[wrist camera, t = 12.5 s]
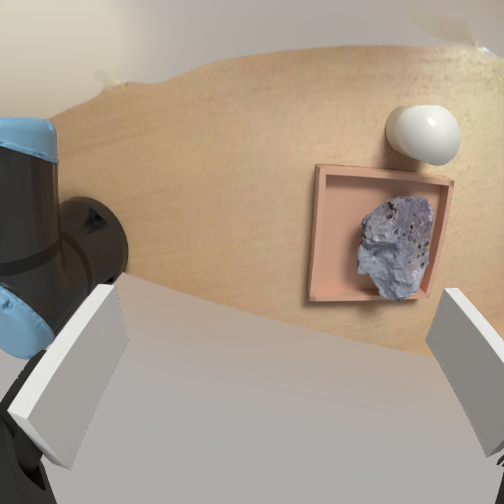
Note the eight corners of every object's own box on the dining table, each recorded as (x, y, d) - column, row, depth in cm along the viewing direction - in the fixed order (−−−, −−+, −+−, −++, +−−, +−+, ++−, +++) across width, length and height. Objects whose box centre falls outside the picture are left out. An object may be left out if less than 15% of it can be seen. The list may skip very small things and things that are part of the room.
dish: (306, 290, 46) (309, 301, 43) (315, 163, 38) (320, 167, 35) (421, 288, 45) (428, 298, 42) (443, 176, 37) (454, 180, 35)
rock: (405, 299, 42) (443, 304, 32) (345, 303, 42) (375, 312, 32) (402, 205, 43) (438, 190, 33) (342, 203, 43) (370, 185, 33)
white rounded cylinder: (383, 152, 37) (409, 161, 30) (386, 102, 34) (412, 100, 27) (427, 158, 37) (457, 169, 29) (430, 110, 34) (461, 112, 26)
